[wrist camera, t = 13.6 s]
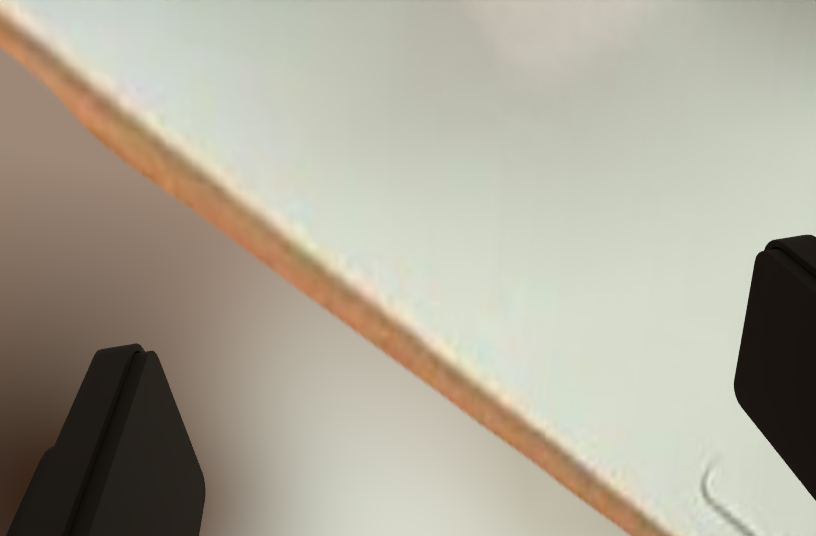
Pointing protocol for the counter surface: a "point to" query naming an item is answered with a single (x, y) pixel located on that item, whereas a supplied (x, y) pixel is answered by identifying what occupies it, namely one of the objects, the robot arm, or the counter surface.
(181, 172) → the counter surface
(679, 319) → the counter surface
